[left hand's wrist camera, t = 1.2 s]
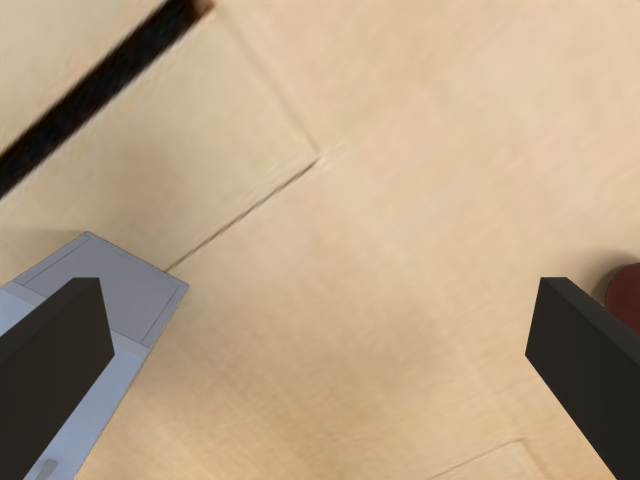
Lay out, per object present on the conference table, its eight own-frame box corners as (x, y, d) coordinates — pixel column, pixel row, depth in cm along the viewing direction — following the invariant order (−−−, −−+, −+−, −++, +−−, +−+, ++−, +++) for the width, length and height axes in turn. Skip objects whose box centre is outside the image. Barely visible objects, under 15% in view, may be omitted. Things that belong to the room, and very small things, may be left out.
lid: (71, 482, 34) (0, 598, 27) (-53, 431, 32) (-168, 540, 25) (150, 348, 30) (90, 442, 22) (11, 280, 28) (-107, 357, 20)
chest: (127, 391, 43) (76, 474, 34) (32, 347, 41) (-49, 423, 32) (189, 285, 39) (150, 348, 30) (87, 230, 37) (11, 279, 28)
